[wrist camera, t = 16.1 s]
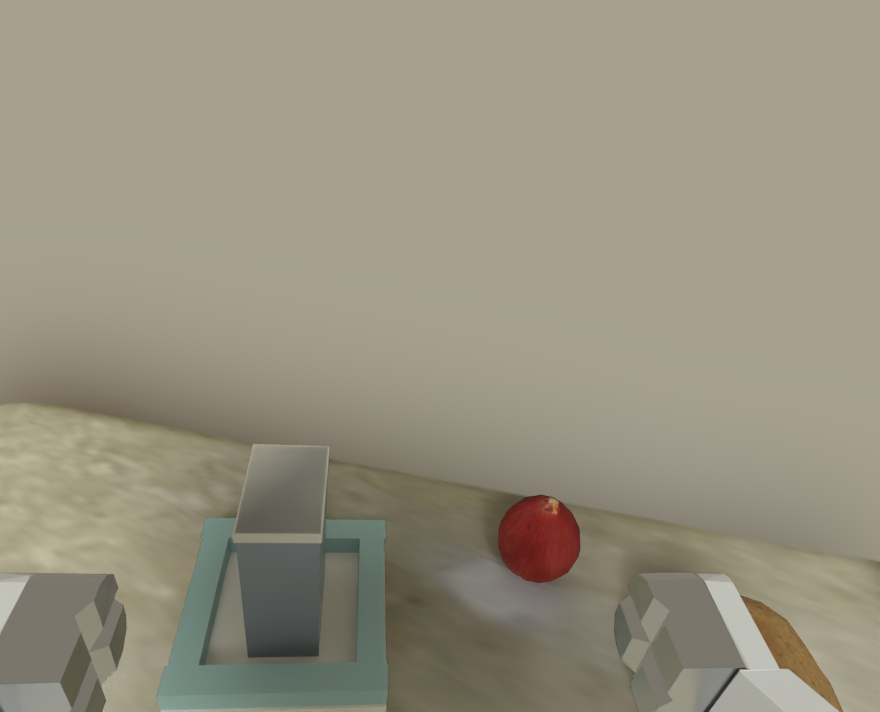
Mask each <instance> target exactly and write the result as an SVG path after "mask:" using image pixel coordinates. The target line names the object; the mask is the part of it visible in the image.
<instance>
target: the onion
mask: <svg viewBox="0 0 880 712" xmlns="http://www.w3.org/2000/svg"><path fill="white" fill-rule="evenodd" d="M498 543H499V550H500V552H501V555H502V558H503V560H504V562H505V563H506V565H507V566H508V567H509V568H510V569H511V570H512V572H513V573H514V574H516V575H518V576H519V577H521V578H523V579H525V580H528V581H532V582H536V583H542V582H549V581H552V580H555V579H557V578H559V577H561V576H563V575H564V574H566V573H568V571H569V570H570V569H571V567H572V566H573V564H574V563H575V561H576V560H577V558H578V556H579V552H580V530H579V527H578V524H577V522H576V520H575V518H574V516H573V514H572V513H571V511H570V510H569V509H567V508H566V507H565V505H564V504H563V503H562V502H560V501H558V500H557V499H555V498H553V497H549V496H544V495H538V496H531V497H525V498H524V499H522V500H521V501H519V502H518V503H516V504H515V505H513V506H512V507H511V508H510V509H509V510H508V511H507V512H506V514H505V516H504V518H503V519H502V521H501V524H500V527H499V538H498Z"/></svg>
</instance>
